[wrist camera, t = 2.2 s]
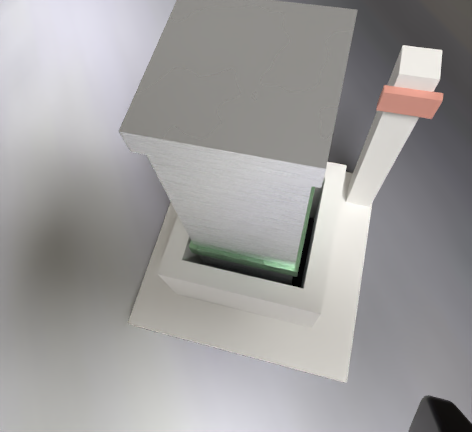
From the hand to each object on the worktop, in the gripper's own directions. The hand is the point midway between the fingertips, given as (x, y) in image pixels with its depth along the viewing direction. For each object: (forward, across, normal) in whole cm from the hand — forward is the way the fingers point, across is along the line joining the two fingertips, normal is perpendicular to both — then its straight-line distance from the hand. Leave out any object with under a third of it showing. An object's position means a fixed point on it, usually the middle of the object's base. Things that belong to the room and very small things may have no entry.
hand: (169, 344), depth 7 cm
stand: (+13, 0, +4) cm, 14 cm away
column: (+13, 0, +4) cm, 14 cm away
